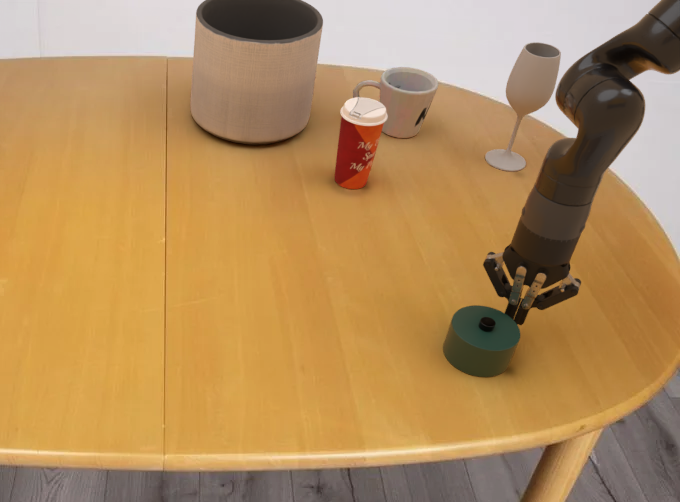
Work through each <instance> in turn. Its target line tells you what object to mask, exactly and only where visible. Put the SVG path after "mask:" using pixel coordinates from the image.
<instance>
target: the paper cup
mask: <svg viewBox="0 0 680 502" xmlns="http://www.w3.org/2000/svg"><path fill="white" fill-rule="evenodd" d="M379 101H380V100H379ZM379 101H378V100H377V99H374V98H370V97H363V96H359V97H356V98H353V97H352V98H349V99H347V100H346V101H345V102H344V103H343V106H341V108H340V110H339V114H340V116H341V118H340V125H339V133H338V143H337V151H336V159H335V168H334V181H335V184H337V185H338V186H339V187H342V188H344V189H348V190H358V189H363V188H364V187H365V186H366V185H367V183H368V180H369V176H370V173H371V170H372V166H373V164H374V159H375V156H376V153H377V149H378V146H379V142H380V139H381V136H382V133H383V132H382V128H383V125H384V122H385V121H386V120H387V113H386V108H385V106H384V105H383V104H382V103H380V102H379Z"/></svg>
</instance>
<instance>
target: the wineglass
mask: <svg viewBox="0 0 680 502" xmlns="http://www.w3.org/2000/svg"><path fill="white" fill-rule="evenodd" d="M561 53H562V52H561V50H560V49H559V48H557V47H556V46H554V45H552V44H549V43H544V42H535V41H533V42H528V43H526V44H525V45H523V48H522V49H521V51H520V53H519V54H518V57H517V58H516V61H515V62H514V64H513V66H512V69H511V71H510V73H509V76H508V78H507V82H506V86H505V97H506V99H507V102H508V104H509V106H510V107H511V109H512V111H514V112H515V113H516V120H515V124H514V126H513V127H514V128H513V130H512V133H511V136H510V138H509V141H508V144H507V148H506V149H503V148H496V149H495V148H494V149H491V150H489V151H486V153H485V156H484V159H485V161H486V163H487V164H488V165H490V167H492V168H495V169H497V170H500V171H502V172H503V171H504V172H511V173H512V172H514V173H515V172H520V171H522V170H524V169H525V167H526V166H527V162H526V161H527V160H526V159H525V158H524V157H523V156H522V155H521V154H519V153H517V152H515V151H513V150H512V149H513V146H514V143H515V139H516V138H517V134H518V131H519V129H520V128H519V127H520V125H521V122H522V120H523V118H524V117H526V116H527V115H530V114H533V113H535V112H537V111H539V110H540V109H542V108H543V107H545V106H546V105H547V104H548V103H549V102H550V99H551V98H552V96H553V93H554V91H555V88H556V84H557V79H558V75H559V70H560V65H561V57H562V54H561Z"/></svg>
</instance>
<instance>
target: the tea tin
mask: <svg viewBox="0 0 680 502" xmlns="http://www.w3.org/2000/svg"><path fill="white" fill-rule="evenodd" d="M520 340H521V330H520V327H519V324H518V325H517V324H516V323H515V321H514V319H512V318H511V317H509V316H508V315H506V314H505V312H503V311H501V310H499V309H497V308H494V307H491V306H487V305H479V304H478V305H475V304H474V305H473V304H472V305H467V306H463V307H461V308H459V309H457V310H456V311H455V312H454V314H453V315H452V318H451V320H450V323H449V326H448V330H447V333H446V335H445V338H444V341H443V343H442V344H443V345H442V352H443V355H444V357H445V359H446V360H447V361H448V363H449V364H451V365H452V366H453V367H454V368H456V369H457V370H458V371H460V372H462V373H464V374H467V375H470V376H473V377H478V378H493V377H496V376H497V377H498V376H499V375H502V374H503V373H504V372H506V371H507V369H508V368H509V366H510V363H511V361H512V359H513V357H514V354H515V352H516V349H517V347H518V345H519V342H520Z"/></svg>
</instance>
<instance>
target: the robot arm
mask: <svg viewBox="0 0 680 502" xmlns="http://www.w3.org/2000/svg"><path fill="white" fill-rule="evenodd" d="M647 71H653V72H657V73H660V74H663V75H674V74H676V73H678V72H680V0H660V1H658V2H657V3H656V4H655V5H654V6H653V7H652V8H651V9H650V10H649V11H648V12H647V13H646V14H645V15H644V16H643V17H642V18H641V19H640V20H639V21H637V22H636V23H635V24H633V25H632V26H631V27H629V28H627V29H625V30H623V31H621V32H619V33H618V34H616V35H614V36H613V37H611V38H610V39H608V40H607V41H605V42H604V43H602V44H600V45H598V46H597V47H596V48H595V47H594V49H592V50H591V51H589V52H588V53H586V54H584V55H583V56H581V57H580V58H578V59H577V60H576V61H575V62H573V64H571V65H570V66H569V68H568V69H567V70H566V71H565V72H564V74H563V75H562V77H561V78H560V79H559V82H558V84H557V86H556V90H555V99H554V100H555V103H556V106H557V108H558V109H559V110H560V111H561V113H562V114H563V115H564V116H565V117H566V118H567V119H568V120H569V121H570V123H572V124H573V125H574V126H575V127H576V128H577V134H576V136H575V137H564V138H560V139H558V140H556V141H555V142H553V143H552V144H551V145H549V147H548V149H547V151H546V153H545V155H544V158H543V160H542V163H541V165H540V168H539V171H538V174H537V176H536V179H535V182H534V185H533V187H532V188H531V190H530V192H529V194H528V196H527V198H526V200H525V203H524V206H523V207H522V209H521V214H520V216H519V219H518V222H517V225H516V228H515V231H514V234H513V235H512V238H511V241H510V243H509V244H508V245H507V246H505V248H504V249H503V250H504V251H502V252H498V253H496V252H494V251H489V252H488V253H487V254H486V256H485V259H484V261H483V263H482V266H483V268H484V270H485V272H486V274H487V277H488V278H489V281H490V283H491V284H492V287H493V289H494V291H495V293H496V295H497V296H498V297H499V298H505V299H506V301H507V305H506V308H505V311H504V313H505V314H506V315H508V316H509V317H511V318H512V319H513V320H514V321H515V323H516V324H517V325H518V326H522V325H524V323H525V322H526V319H527V316H528V315H529V311H530V310H531V309H536V310H539V311H544V310H547V309H549V308H551V307H553V306H555V305H558V304H560V303H563V302H565V301H567V300H569V299H572V298H574V297H576V296H578V294H579V291H580V288H581V285H582V280H581V279H580V278H578V277H575V278H574V277H573V276H572V274H571V273H570V271H571V267H572V266H571V260H572V257H573V255H574V252H575V251H576V247H577V245H578V243H579V240H580V238H581V236H582V233H583V232H584V230H585V228H586V225H587V221H588V220H589V217H590V215H591V211H592V210H591V209H592V207H593V202H594V200H595V197H596V195H597V192H598V190H599V188H600V186H601V183H602V181H603V179H604V177H605V173H606V171H607V170H608V169H609V168H610V166H611V165H612V164H613V163H614V162H615V161H616V160H617V158H618V157H619V156H620V154H621V153H622V152H623V151H624V150H625V148H626V147H627V146H628V144H629V143H630V142H631V141H632V139H634V137H635V136H636V134H638V131H639V130H640V128H641V126H642V124H643V122H644V118H645V114H646V99H645V96H644V94H643V92H642V90H641V89H640V88H639V87H637V85H635V83H633V82H632V81H631V80H632V79H635V78H636V77H637V76H639V75H641V74H643V73H645V72H647ZM504 265H505V268H506V269H507V273H508V275H509V276H510V278H511V279H512V280H513V283H512V285H511V282H510V280H509V278H508V275H507V274H506V272H505V270H504V268H503V267H504ZM557 283H559V284H558V285H557V286H554V287H552V288H550V289H548V288H549V287H551V286H553V285H555V284H557ZM525 286H527V287H528V289H527V290H526V292H525V294H524V296H523V297H522V294H523V290H524V287H525ZM544 289H547V290H546V291H544V292H541V293H540V291H541V290H544ZM539 293H540V294H539Z"/></svg>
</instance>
